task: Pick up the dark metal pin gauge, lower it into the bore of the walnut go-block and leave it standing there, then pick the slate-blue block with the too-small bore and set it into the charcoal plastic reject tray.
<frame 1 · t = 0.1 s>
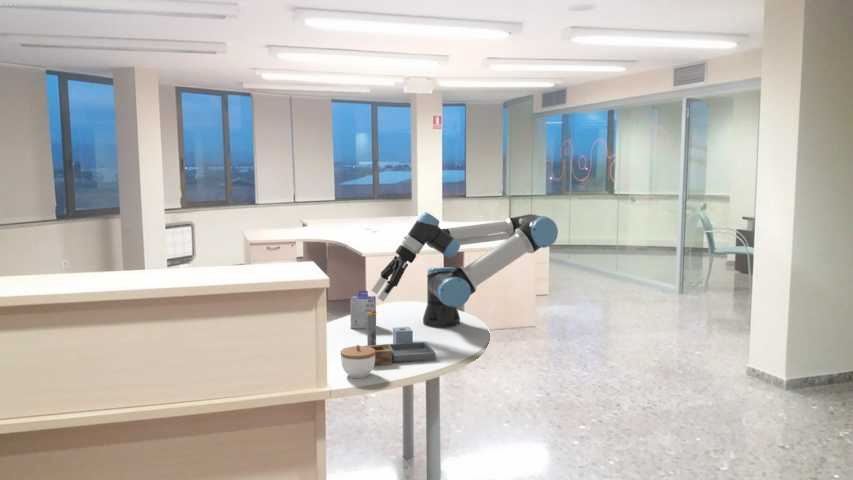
hand: (376, 295, 244), 15 cm above the table, tool tilted 35°, fingers open, 13 cm apart
pin gauge: (371, 351, 226), on the table
lidded jar: (358, 375, 201), on the table
ink cartridge box: (363, 327, 259), on the table
reject tray: (410, 355, 221), on the table
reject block: (402, 345, 233), on the table
go block: (377, 361, 214), on the table
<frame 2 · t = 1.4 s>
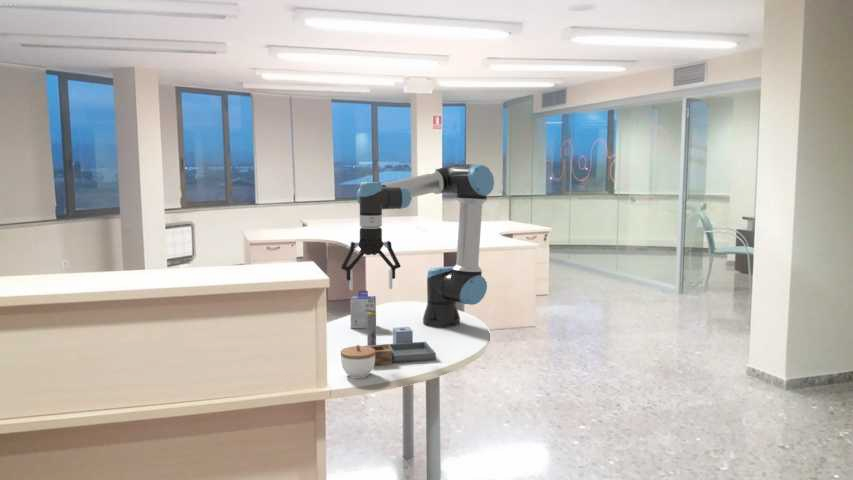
hand: (370, 289, 223), 22 cm above the table, tool pointing down, fingers open, 13 cm apart
nothing on the table moved.
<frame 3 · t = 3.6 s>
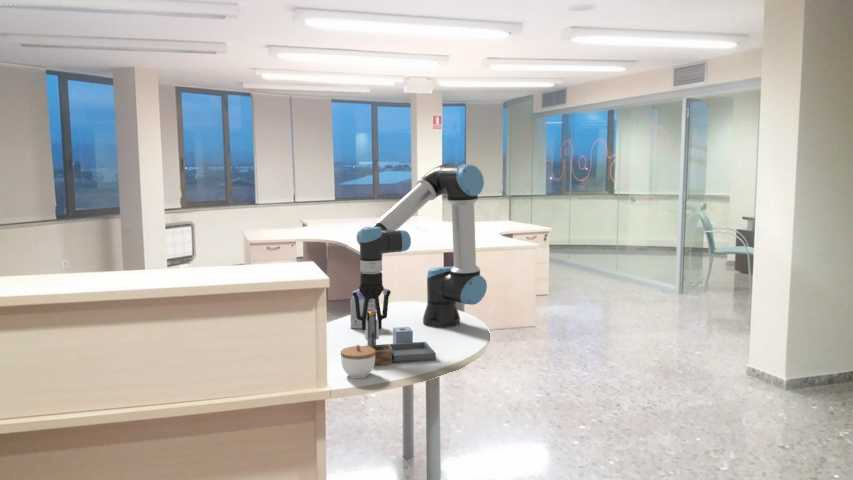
hand: (371, 338, 225), 5 cm above the table, tool pointing down, fingers closed on pin gauge, 3 cm apart
pin gauge: (371, 351, 226), on the table, touching gripper
everything else where it was.
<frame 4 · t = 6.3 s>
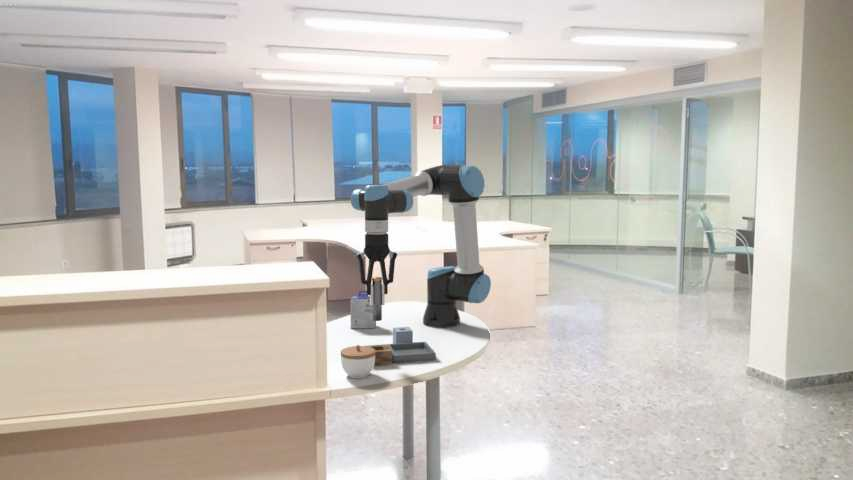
hand: (377, 304, 212), 19 cm above the table, tool pointing down, fingers closed on pin gauge, 3 cm apart
pin gauge: (377, 319, 212), point 14 cm above the table, touching gripper
everything else where it was.
when the fingers open (6 cm above the table, at t = 9.3 s): pin gauge stays where it is, resting on go block.
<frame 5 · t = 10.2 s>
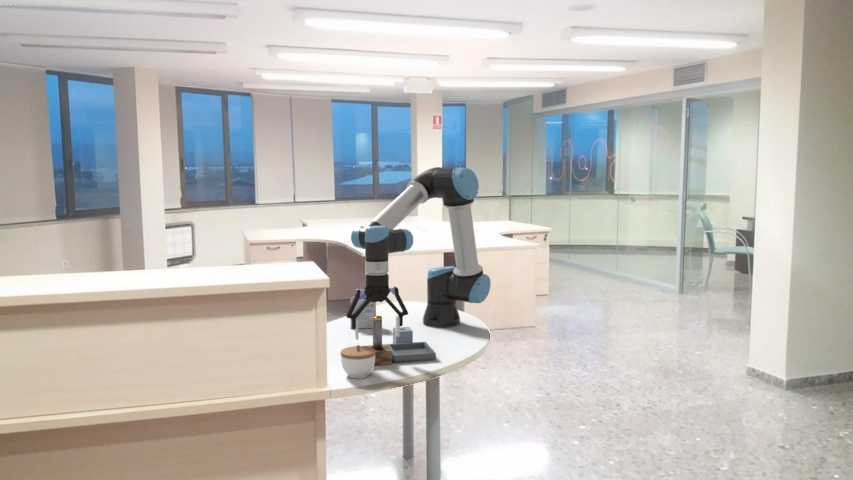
hand: (377, 337, 213), 8 cm above the table, tool pointing down, fingers open, 13 cm apart
pin gauge: (377, 358, 214), point 1 cm above the table, touching go block
everything else where it was.
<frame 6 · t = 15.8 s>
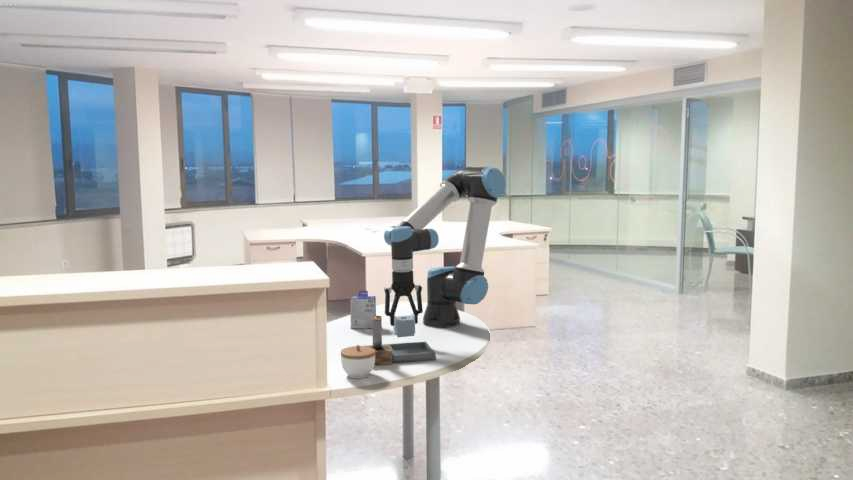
hand: (404, 333, 233), 4 cm above the table, tool pointing down, fingers closed on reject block, 6 cm apart
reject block: (404, 334, 233), point 4 cm above the table, touching gripper
everything else where it was.
when the fingers open (2 cm above the table, at t = 20.6 s): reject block stays where it is, resting on reject tray.
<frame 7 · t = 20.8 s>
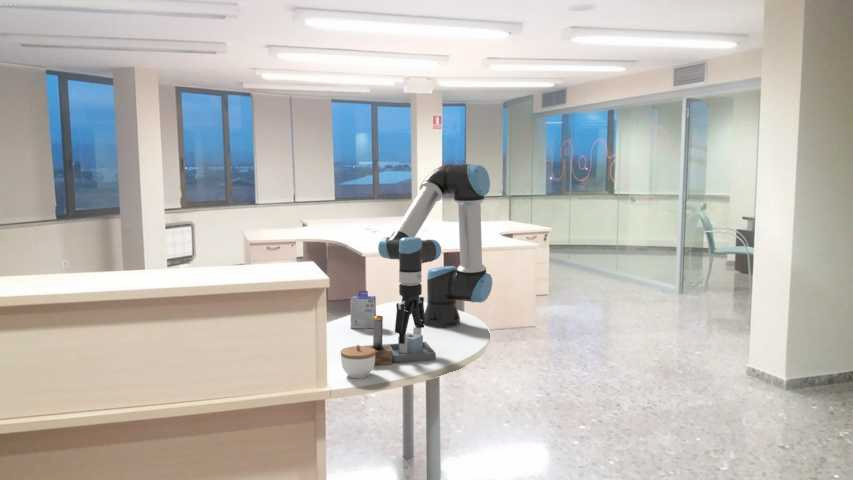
hand: (410, 349, 221), 2 cm above the table, tool pointing down, fingers open, 8 cm apart
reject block: (410, 353, 221), point 1 cm above the table, touching reject tray
everything else where it was.
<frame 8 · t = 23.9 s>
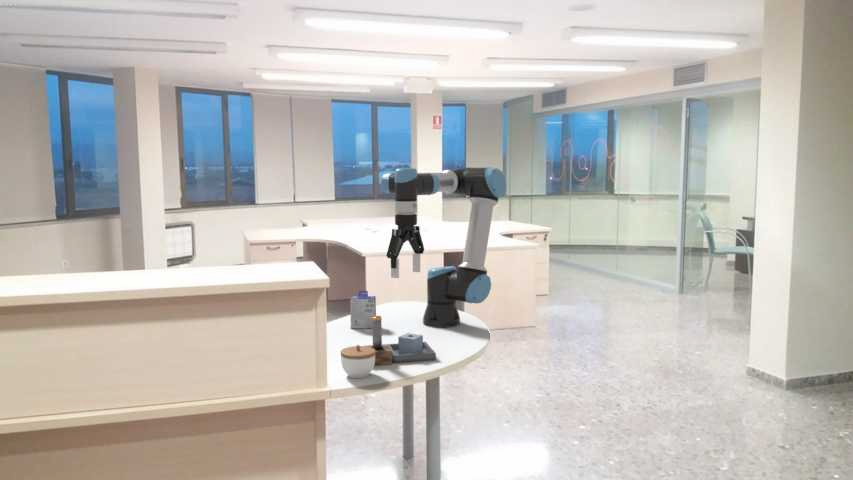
hand: (406, 274, 224), 27 cm above the table, tool pointing down, fingers open, 13 cm apart
nothing on the table moved.
at the end: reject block inside the target area on the reject tray (0.1 cm from its centre), point 0.8 cm above the reject tray's base; pin gauge 0.0 cm from the go block (horizontally); pin gauge point 1.1 cm above the table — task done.
